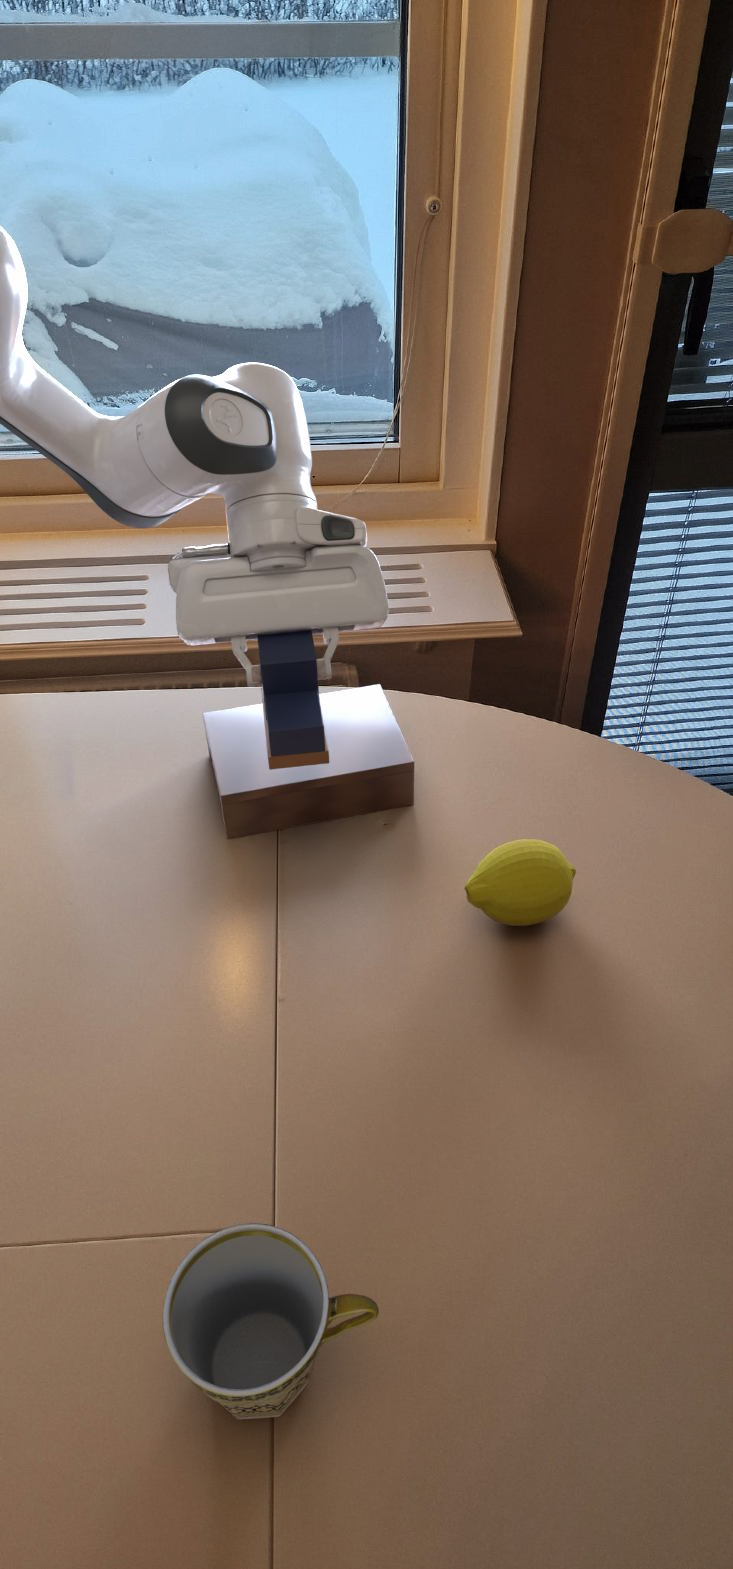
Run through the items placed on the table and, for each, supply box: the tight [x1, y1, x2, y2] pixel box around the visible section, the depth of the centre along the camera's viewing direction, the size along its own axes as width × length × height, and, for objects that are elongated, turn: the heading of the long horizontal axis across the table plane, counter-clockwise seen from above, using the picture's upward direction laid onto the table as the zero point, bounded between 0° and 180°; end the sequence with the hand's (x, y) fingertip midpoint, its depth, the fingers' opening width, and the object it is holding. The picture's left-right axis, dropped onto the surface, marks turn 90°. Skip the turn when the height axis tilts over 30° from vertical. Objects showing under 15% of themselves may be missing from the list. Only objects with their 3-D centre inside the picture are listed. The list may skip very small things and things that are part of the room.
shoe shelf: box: [202, 683, 415, 840], centre depth 111 cm, size 20×14×6 cm
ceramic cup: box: [162, 1222, 380, 1420], centre depth 66 cm, size 13×10×10 cm
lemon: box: [463, 838, 577, 927], centre depth 96 cm, size 11×8×8 cm
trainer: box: [257, 630, 329, 770], centre depth 97 cm, size 11×6×8 cm, turn 8°
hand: (290, 681), depth 98 cm, fingers closed on trainer, 5 cm apart
